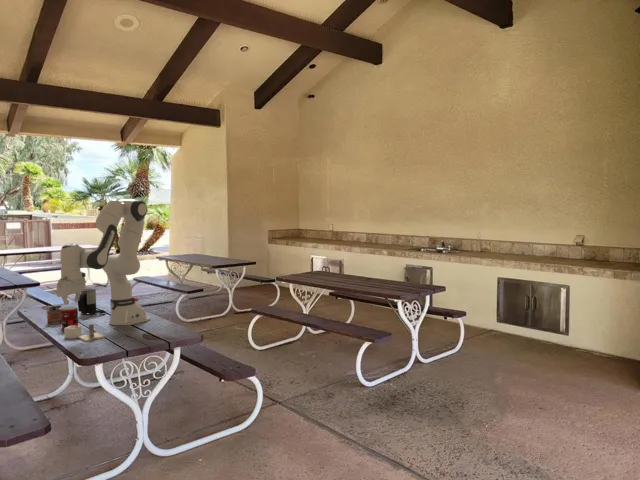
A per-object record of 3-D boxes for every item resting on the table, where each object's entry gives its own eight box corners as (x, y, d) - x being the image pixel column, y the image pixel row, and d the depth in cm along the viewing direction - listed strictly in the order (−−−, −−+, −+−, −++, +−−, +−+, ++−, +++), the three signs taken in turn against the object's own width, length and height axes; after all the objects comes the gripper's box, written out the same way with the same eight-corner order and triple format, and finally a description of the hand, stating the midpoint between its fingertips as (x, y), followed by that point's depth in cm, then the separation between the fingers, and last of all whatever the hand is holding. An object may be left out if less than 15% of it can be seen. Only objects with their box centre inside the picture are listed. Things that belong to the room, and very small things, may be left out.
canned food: (60, 327, 263) (59, 307, 262) (76, 324, 268) (75, 305, 267) (63, 330, 257) (62, 310, 256) (79, 327, 262) (79, 308, 262)
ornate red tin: (47, 324, 270) (46, 307, 269) (46, 323, 273) (46, 306, 272) (63, 322, 275) (62, 305, 274) (62, 321, 277) (61, 304, 277)
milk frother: (83, 311, 303) (82, 288, 302) (109, 310, 306) (108, 287, 304) (76, 316, 289) (75, 292, 288) (103, 315, 292) (103, 291, 291)
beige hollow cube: (71, 335, 247) (70, 324, 246) (81, 335, 246) (81, 324, 246) (64, 337, 241) (64, 327, 241) (74, 338, 241) (74, 327, 240)
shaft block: (97, 334, 248) (96, 321, 248) (106, 337, 242) (105, 324, 241) (77, 338, 241) (76, 324, 240) (85, 341, 234) (85, 327, 234)
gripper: (64, 278, 231) (65, 306, 231) (87, 273, 251) (88, 299, 252) (52, 278, 231) (53, 306, 232) (76, 273, 251) (76, 298, 252)
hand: (71, 302), depth 242 cm, fingers open, 8 cm apart
